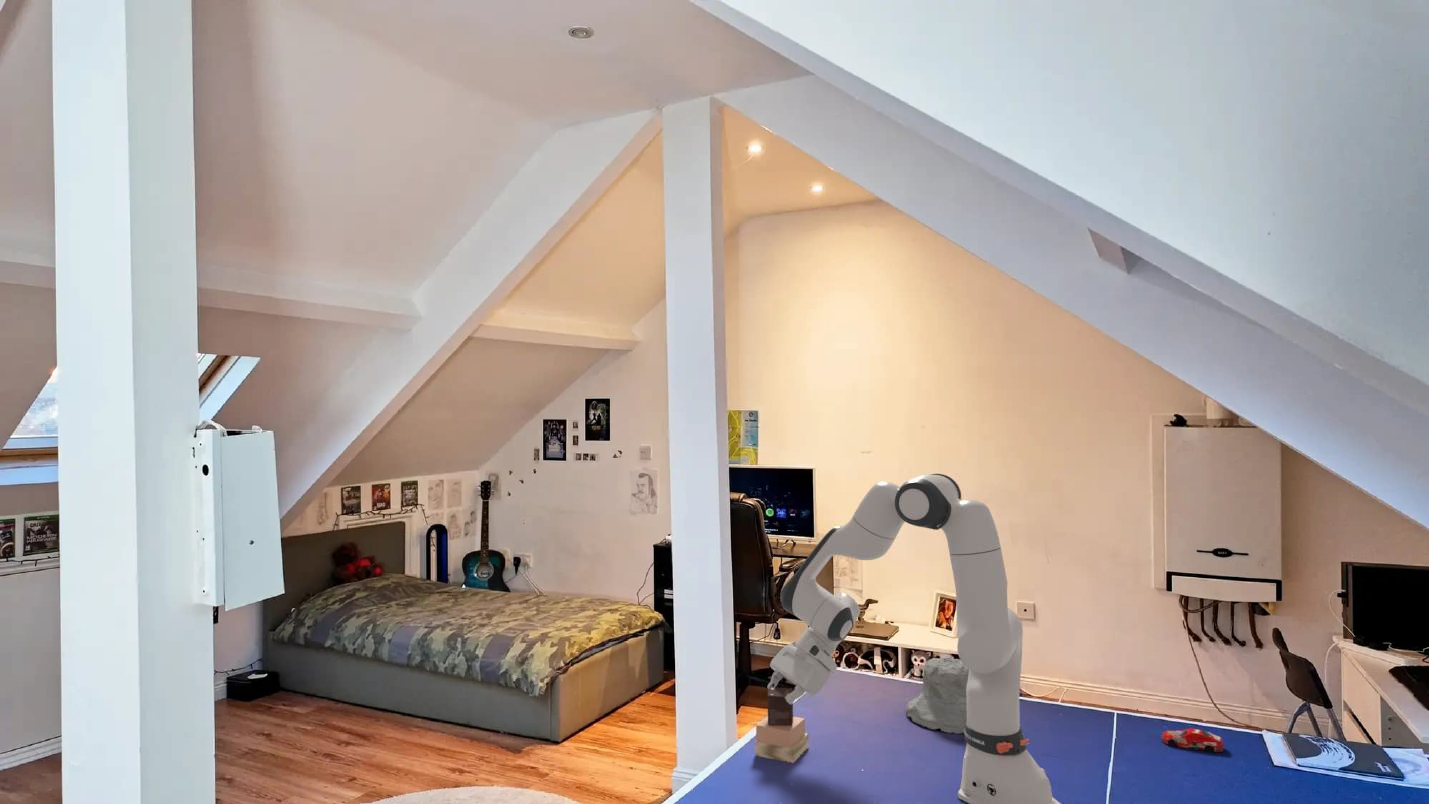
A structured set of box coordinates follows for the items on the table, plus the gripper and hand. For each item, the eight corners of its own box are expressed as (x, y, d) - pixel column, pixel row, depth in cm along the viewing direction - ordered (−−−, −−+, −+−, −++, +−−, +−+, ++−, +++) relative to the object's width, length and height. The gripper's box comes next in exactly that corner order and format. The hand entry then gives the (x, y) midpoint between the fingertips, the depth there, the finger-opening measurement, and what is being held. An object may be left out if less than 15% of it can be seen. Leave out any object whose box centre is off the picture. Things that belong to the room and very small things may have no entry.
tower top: (804, 734, 208) (804, 718, 208) (790, 748, 200) (789, 731, 200) (772, 728, 212) (771, 712, 212) (756, 741, 204) (756, 725, 204)
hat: (900, 728, 219) (899, 671, 219) (910, 698, 240) (908, 646, 240) (1005, 740, 210) (1004, 680, 210) (1005, 707, 232) (1003, 653, 232)
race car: (1161, 746, 205) (1160, 730, 205) (1161, 738, 210) (1161, 722, 210) (1224, 756, 198) (1223, 739, 198) (1223, 747, 203) (1222, 731, 203)
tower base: (808, 749, 208) (808, 733, 208) (793, 765, 199) (793, 748, 199) (771, 742, 213) (771, 727, 213) (755, 758, 204) (755, 741, 204)
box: (792, 726, 203) (791, 696, 203) (767, 725, 204) (767, 695, 203) (793, 716, 209) (793, 687, 209) (769, 715, 210) (768, 686, 209)
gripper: (785, 632, 218) (752, 675, 215) (824, 654, 199) (788, 701, 196) (801, 647, 220) (768, 690, 216) (841, 670, 201) (806, 717, 197)
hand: (778, 695), depth 206 cm, fingers open, 8 cm apart
